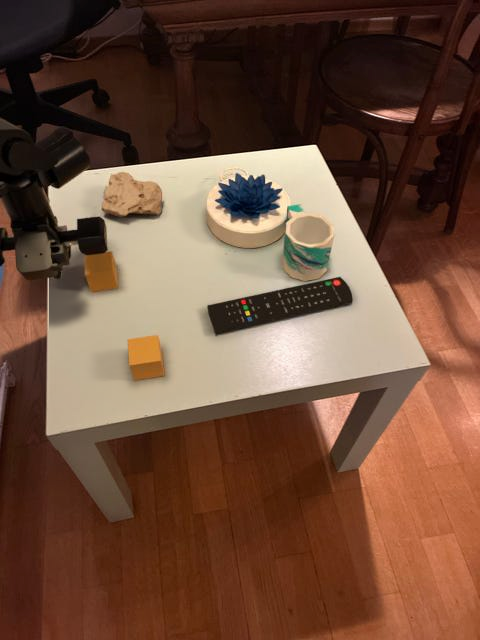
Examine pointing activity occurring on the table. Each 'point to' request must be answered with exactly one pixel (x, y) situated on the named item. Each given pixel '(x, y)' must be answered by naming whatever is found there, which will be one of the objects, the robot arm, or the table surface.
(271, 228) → the box with blue lotus
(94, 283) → the ochre block middle
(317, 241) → the mug
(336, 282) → the remote control
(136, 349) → the ochre block near
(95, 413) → the table surface
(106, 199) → the stone
